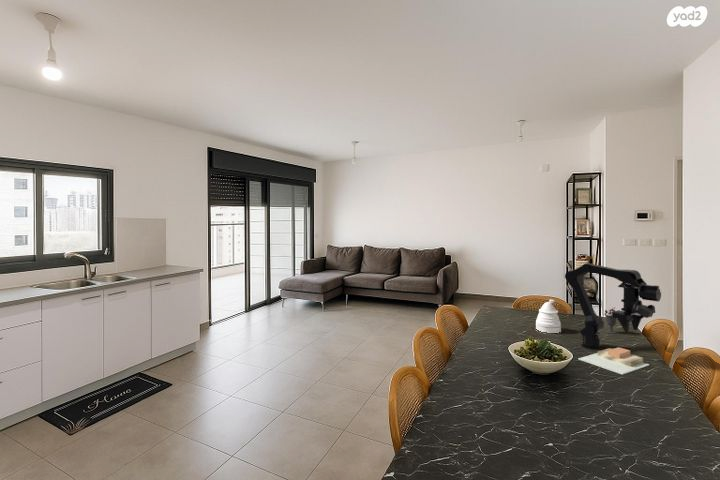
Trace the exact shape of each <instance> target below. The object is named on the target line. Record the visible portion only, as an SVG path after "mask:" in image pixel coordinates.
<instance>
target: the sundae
mask: <svg viewBox="0 0 720 480" xmlns="http://www.w3.org/2000/svg"><path fill="white" fill-rule="evenodd" d="M614 311H616V310H615V308H611V309H608V310H606V309H605V310H604V312H605V313H603V315H604V316H605V319H606V324H607V326H609V330H606V331H605V332H606V333H607V334H610V335H616V334H617V332H616V331H614V330H613V327H615V325H616V324H617V320H618V319H617V318H614V317H612V313H613V312H614Z"/></svg>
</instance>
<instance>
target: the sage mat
mask: <svg viewBox="0 0 720 480" xmlns="http://www.w3.org/2000/svg"><path fill="white" fill-rule="evenodd" d="M577 359H578V360H579V361H582V362H584V363H588V364H591V365H593V366H597V367H599V368H603V369H605V370H608V371H611V372H613V373H616V374H619V375H626V374H628V373H631V372H634V371H637V370H640V369H643V368H645V367H648V366H650V363H646V362H643V363H640V364H637V365H634V366H631V367H630V366H627V365H624V364H621V363H618V362H614V361H611V360H608V359H605V358H602V357H599V356H598V352H597V353H593V354H589V355H584V356H581V357H579V358H577Z"/></svg>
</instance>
